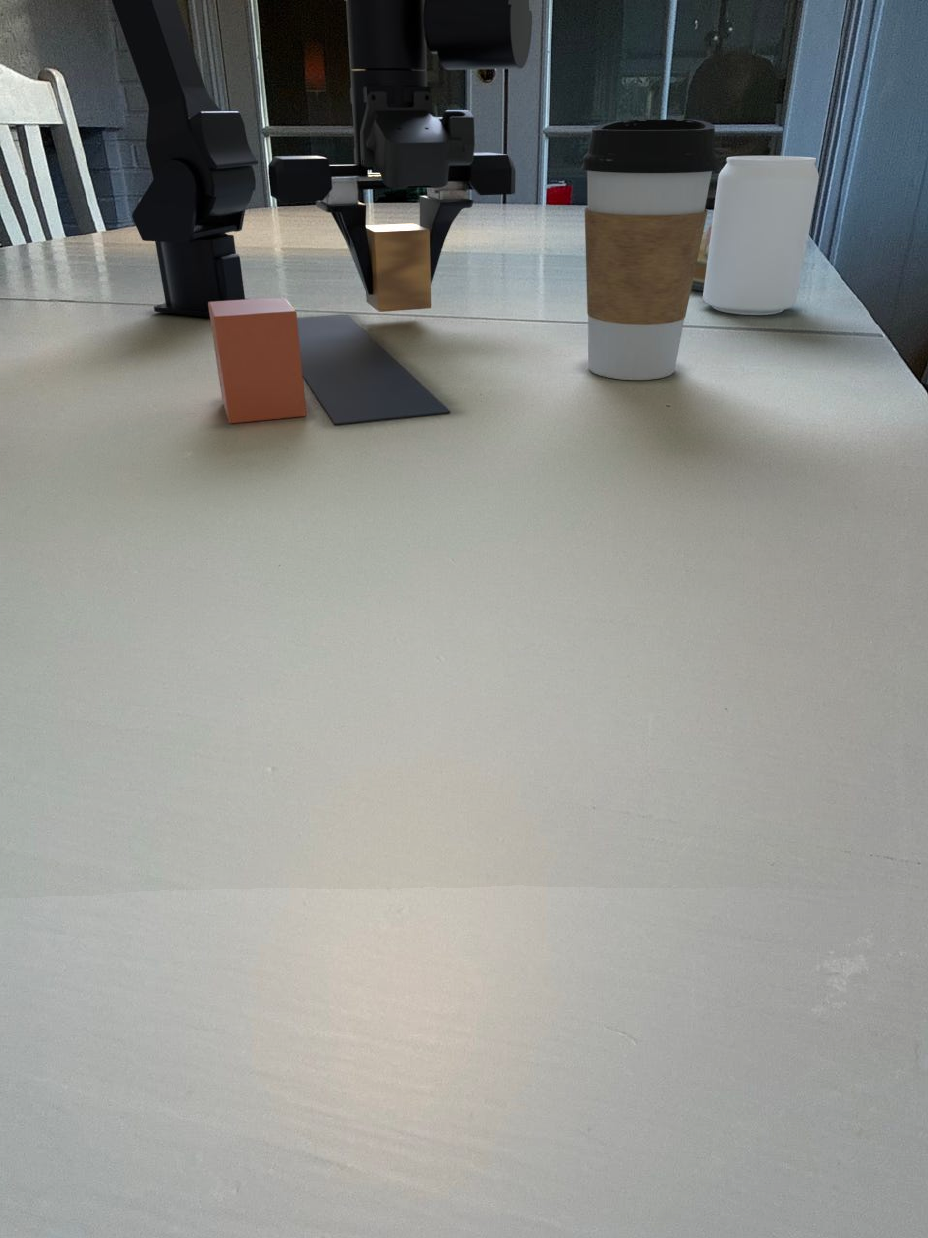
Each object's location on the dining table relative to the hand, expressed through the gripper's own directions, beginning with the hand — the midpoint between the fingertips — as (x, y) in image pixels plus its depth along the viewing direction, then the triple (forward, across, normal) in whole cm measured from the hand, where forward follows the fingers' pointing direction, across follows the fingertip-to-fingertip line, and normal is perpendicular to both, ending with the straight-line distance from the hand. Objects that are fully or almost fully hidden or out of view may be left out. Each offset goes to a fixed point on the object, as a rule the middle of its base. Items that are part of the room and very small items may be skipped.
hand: (397, 292), depth 72 cm
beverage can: (+3, +31, -5) cm, 32 cm away
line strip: (+2, -7, -10) cm, 13 cm away
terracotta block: (+2, -14, -21) cm, 25 cm away
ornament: (+3, +35, +5) cm, 35 cm away
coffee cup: (+3, +11, -20) cm, 23 cm away
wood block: (+1, 0, 0) cm, 1 cm away
